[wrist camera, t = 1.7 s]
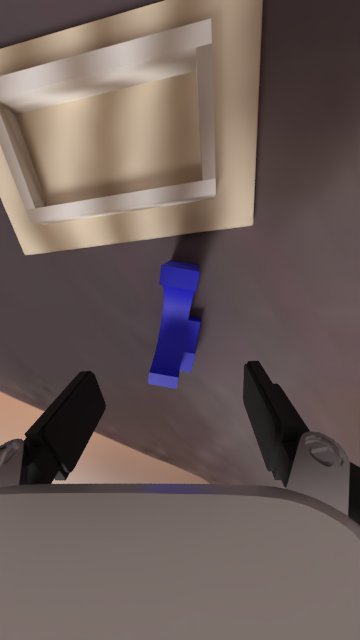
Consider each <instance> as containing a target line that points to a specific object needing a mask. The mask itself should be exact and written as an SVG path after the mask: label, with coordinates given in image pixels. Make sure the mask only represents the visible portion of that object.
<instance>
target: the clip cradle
mask: <svg viewBox="0 0 360 640" xmlns="http://www.w3.org/2000/svg"><path fill="white" fill-rule="evenodd" d="M262 6H263V0H165V1H161V2H158V3H154V4H151V5H148V6H144V7H141V8H137V9H134V10H131V11H127V12H124V13H120V14H117V15H114V16H110V17H107V18H104V19H100V20H97V21H93V22H90V23H87V24H83V25H80V26H76V27H73V28H70V29H66V30H63V31H59V32H56V33H53V34H49V35H46V36H43V37H39V38H36V39H32V40H29V41H26V42H22V43H19V44H15V45H12V46H9V47H5V48H2V49H0V198H1V200H2V202H3V205H4V207H5V209H6V212H7V214H8V216H9V219H10V221H11V223H12V226H13V228H14V231H15V233H16V235H17V238H18V240H19V242H20V245H21V247H22V249H23V252H24V254H25V255H33V254H40V253H48V252H56V251H63V250H71V249H78V248H86V247H94V246H101V245H109V244H116V243H124V242H132V241H139V240H147V239H154V238H162V237H170V236H177V235H185V234H192V233H200V232H207V231H215V230H223V229H230V228H238V227H245V226H251V225H253V212H254V189H255V166H256V143H257V120H258V97H259V74H260V52H261V29H262Z"/></svg>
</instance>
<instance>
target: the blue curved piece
mask: <svg viewBox="0 0 360 640" xmlns="http://www.w3.org/2000/svg"><path fill="white" fill-rule="evenodd" d="M199 275H200V270H199V266H198V265H195V264H189V263H184V262H178V261H172V260H171V261H169V262H167V263H165V264H163V265H162V266H161V275H160V283H159V284H160V285H163V288H164V304H163V314H162V321H161V327H160V333H159V338H158V343H157V347H156V351H155V355H154V359H153V363H152V366H151V369H150V372H149V380H148V384H153V385H158V386H164V387H169V388H175V389H176V388H177V383H178V378H179V370H182V371H187V372H191V370H192V366H193V361H194V357H195V352H196V345H197V339H198V334H199V329H200V324H201V318H198V317H192V316H189V313H190V308H191V304H192V299H193V296H194V292H195V291H196V289H197V284H198V279H199Z"/></svg>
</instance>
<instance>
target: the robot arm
mask: <svg viewBox="0 0 360 640" xmlns="http://www.w3.org/2000/svg"><path fill="white" fill-rule="evenodd" d="M243 401H244V405H245V408H246V411H247V414H248V417H249V420H250V422H251V425H252V428H253V431H254V434H255V436H256V439H257V442H258V445H259V448H260V451H261V453H262V456H263V459H264V462H265V465H266V467H267V470H268V471H272V473H273V476H274V478H275V480H282V482H283V485H284V487H286V489H283V488H277V487H269V486H258V485H229V484H51V483H52V481H53V480H54V478H55V480H66V479H67V477H68V475H69V473H70V472H72V471H73V469H74V468H75V466H76V464H77V462H78V460H79V458H80V456H81V454H82V453H83V451H84V449H85V447H86V445H87V443H88V441H89V439H90V437H91V435H92V433H93V432H94V430H95V428H96V426H97V424H98V422H99V420H100V418H101V416H102V415H103V413H104V411H105V408H106V404H105V401H104V398H103V396H102V393H101V390H100V388H99V385H98V382H97V380H96V377H95V375H94V373H92V372H91V371H82V372H80V373H79V374H78V375H77V376H76V377H75V378H74V379H73V380H72V381H71V383H70V384H69V385H68V386H67V387H66V388H65V389H64V390H63V392H62V393H61V394H60V395H59V396H58V397H57V398H56V399H55V401H54V402H53V403H52V404H51V405H50V406H49V407H48V408H47V410H46V411H45V412H44V413H43V414H42V415H41V416H40V417H39V419H38V420H37V421H36V422H35V423H34V424H33V425H32V426H31V428H30V429H29V430H28V431H27V432H26V433H25V436H26V437H27V438H26V439H25V440H24V441H23V440H22V439H14V440H11V441H8V442H6V443H5V444H3V445H1V446H0V640H360V467H358V466H356V465H355V464H353V463H351V462H349V458H348V456H347V454H346V452H345V451H344V450H343V448H342V447H341V446H340V445H339V444H338V443H337V442H335V441H334V440H333V439H331V438H330V437H328V436H326V435H324V434H321V433H319V432H313V431H311V432H310V430H309V429H308V427H307V426H306V424H305V423H304V421H303V420H302V418H301V417H300V415H299V414H298V412H297V411H296V409H295V408H294V406H293V405H292V403H291V402H290V400H289V399H288V397H287V396H286V394H285V393H284V391H283V390H282V388H281V387H280V386H279V385H278V384H273V383H272V382H271V380H270V378H269V377H268V375H267V374H266V372H265V370H264V369H263V367H262V366H261V364H260V362H259V361H248V363H247V364H245V365H244V387H243Z"/></svg>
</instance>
